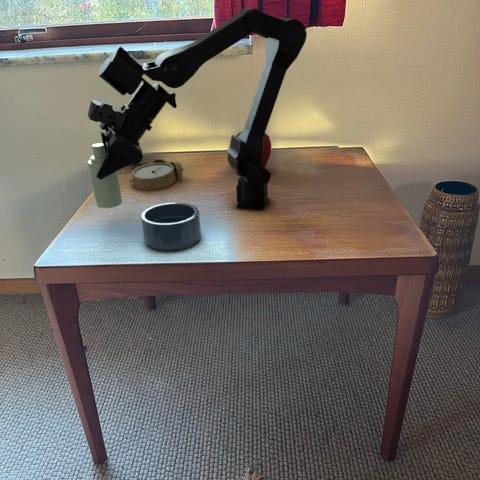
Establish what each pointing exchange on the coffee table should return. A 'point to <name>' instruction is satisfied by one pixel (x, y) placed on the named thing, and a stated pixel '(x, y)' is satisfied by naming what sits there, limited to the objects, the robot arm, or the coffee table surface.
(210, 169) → the coffee table surface
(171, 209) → the pot
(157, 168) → the alarm clock
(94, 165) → the capped bottle
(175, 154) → the coffee table surface
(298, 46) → the robot arm
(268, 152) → the apple
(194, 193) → the coffee table surface
